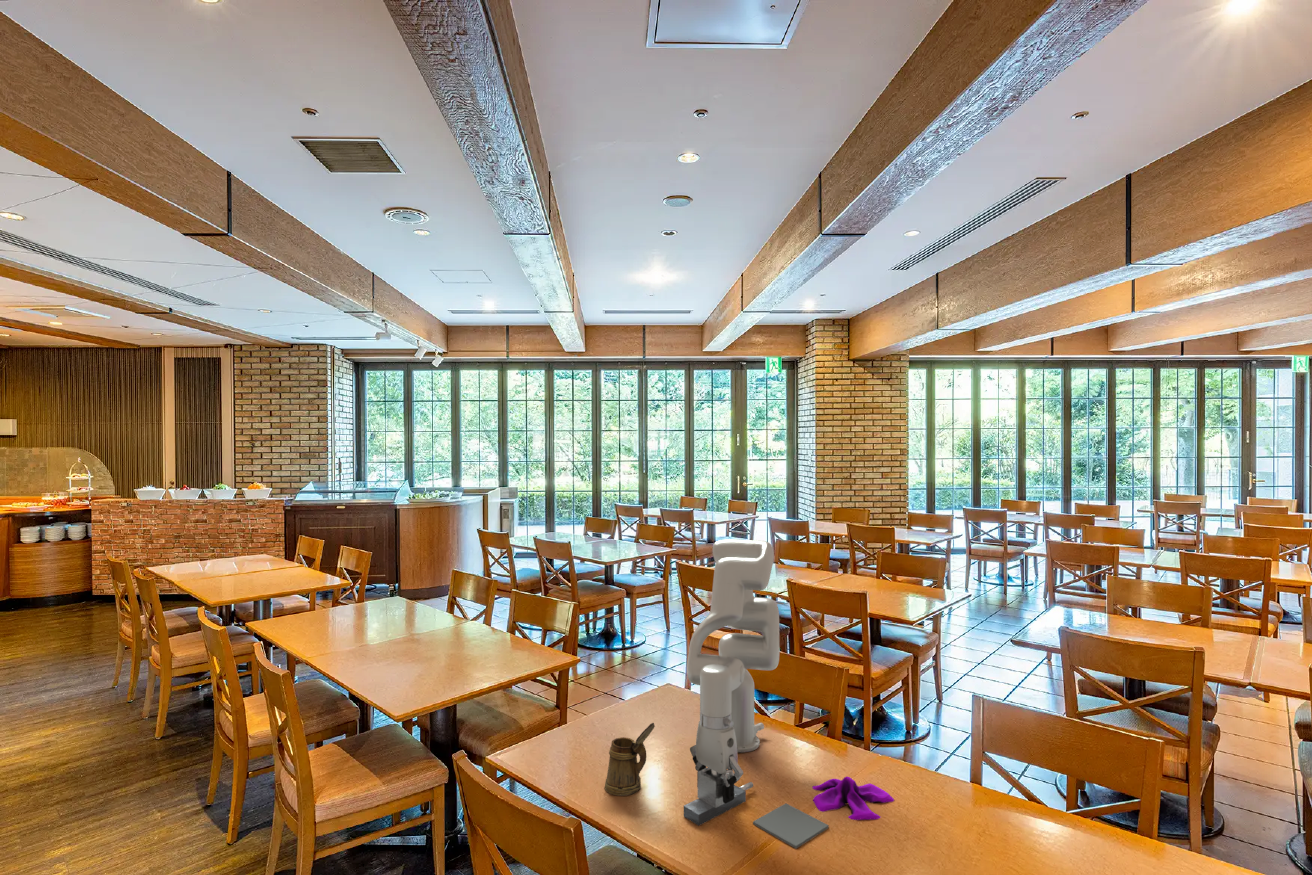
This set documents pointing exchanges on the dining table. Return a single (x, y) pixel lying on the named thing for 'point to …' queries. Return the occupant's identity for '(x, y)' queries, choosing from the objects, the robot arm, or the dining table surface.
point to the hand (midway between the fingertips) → (715, 793)
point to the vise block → (704, 812)
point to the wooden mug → (626, 764)
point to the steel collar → (710, 788)
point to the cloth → (850, 797)
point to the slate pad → (791, 825)
